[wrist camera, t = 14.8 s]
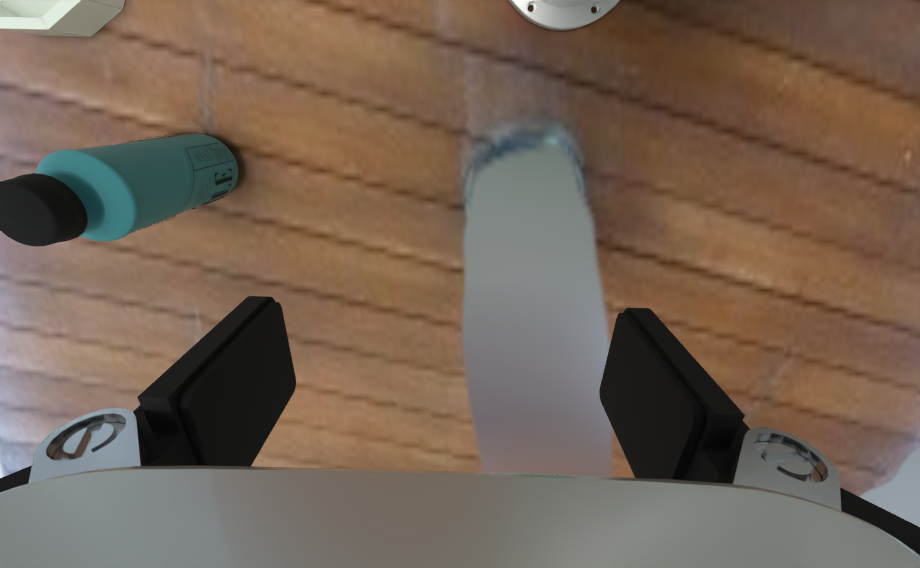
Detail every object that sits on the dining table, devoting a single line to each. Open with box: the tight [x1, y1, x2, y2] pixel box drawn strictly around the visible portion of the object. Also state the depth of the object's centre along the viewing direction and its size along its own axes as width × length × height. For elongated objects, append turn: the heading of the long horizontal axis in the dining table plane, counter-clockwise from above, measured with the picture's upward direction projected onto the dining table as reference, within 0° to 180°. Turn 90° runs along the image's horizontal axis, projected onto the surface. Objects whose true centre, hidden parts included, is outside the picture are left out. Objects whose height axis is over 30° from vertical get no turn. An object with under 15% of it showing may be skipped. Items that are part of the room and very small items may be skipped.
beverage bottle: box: [0, 132, 238, 246], centre depth 31 cm, size 6×7×20 cm
